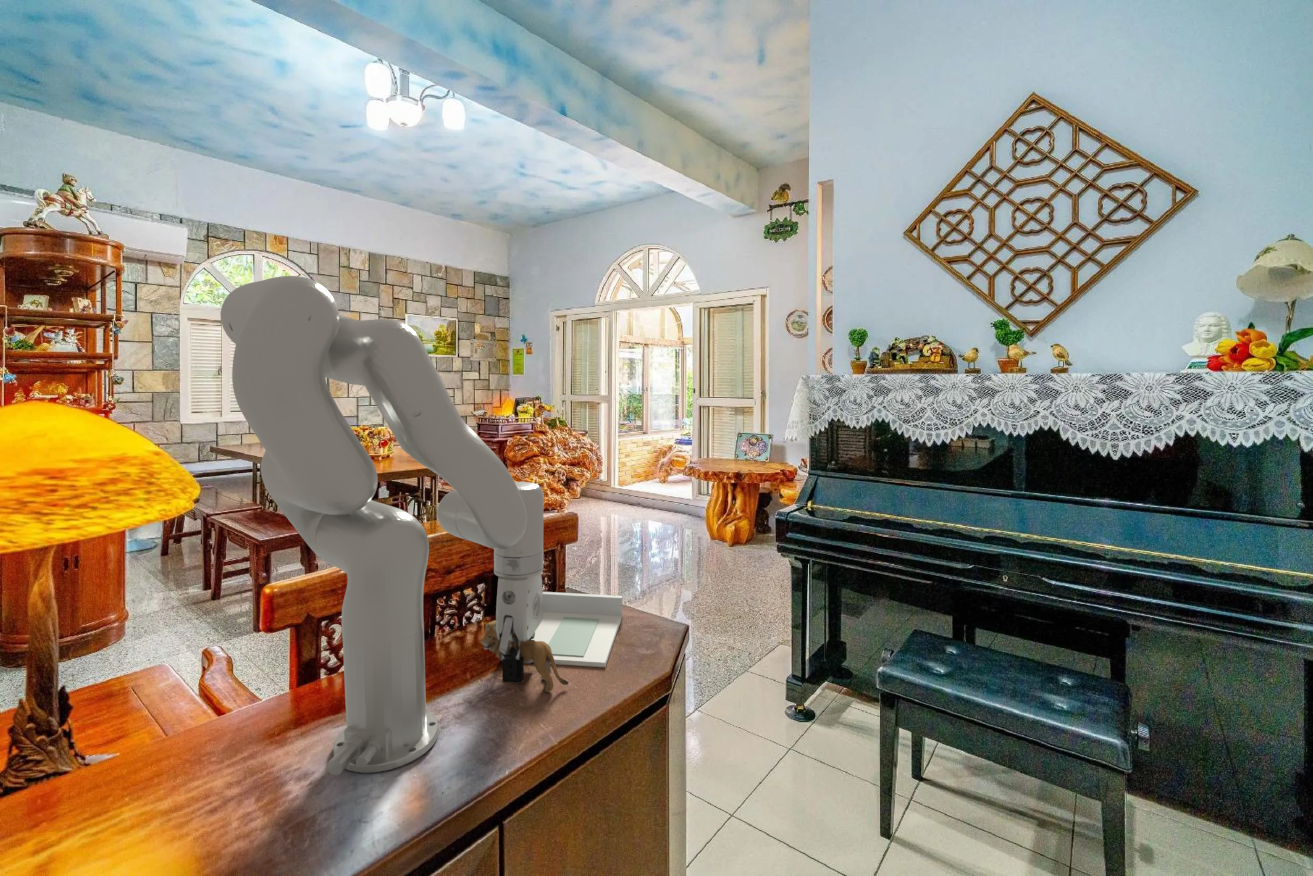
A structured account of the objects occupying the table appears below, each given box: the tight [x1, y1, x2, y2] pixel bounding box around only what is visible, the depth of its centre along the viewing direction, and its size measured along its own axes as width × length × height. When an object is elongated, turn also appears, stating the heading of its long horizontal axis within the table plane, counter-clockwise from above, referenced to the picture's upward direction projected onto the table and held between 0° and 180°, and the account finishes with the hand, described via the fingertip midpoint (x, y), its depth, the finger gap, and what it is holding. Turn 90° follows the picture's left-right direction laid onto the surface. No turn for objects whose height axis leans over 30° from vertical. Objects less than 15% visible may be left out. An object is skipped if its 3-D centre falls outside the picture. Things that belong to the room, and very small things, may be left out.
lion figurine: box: [480, 619, 569, 693], centre depth 94 cm, size 15×5×9 cm, turn 74°
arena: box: [499, 591, 623, 668], centre depth 109 cm, size 20×18×4 cm
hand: (519, 671), depth 95 cm, fingers closed on lion figurine, 5 cm apart
